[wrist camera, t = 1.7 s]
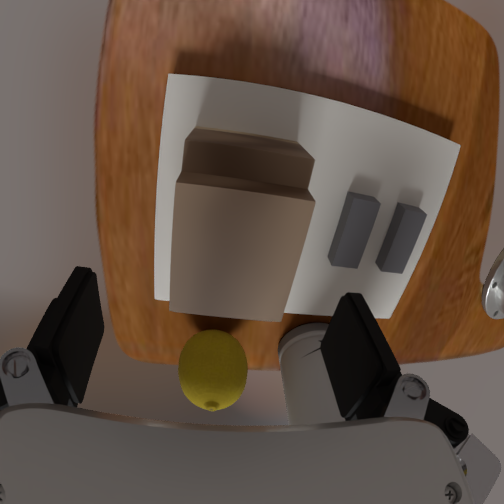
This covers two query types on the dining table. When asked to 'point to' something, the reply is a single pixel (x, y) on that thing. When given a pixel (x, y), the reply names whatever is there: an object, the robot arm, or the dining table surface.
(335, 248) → the dark grey block
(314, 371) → the travel mug
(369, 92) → the dining table surface
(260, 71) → the dining table surface
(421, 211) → the dark grey block
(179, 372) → the lemon
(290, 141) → the block
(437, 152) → the board
